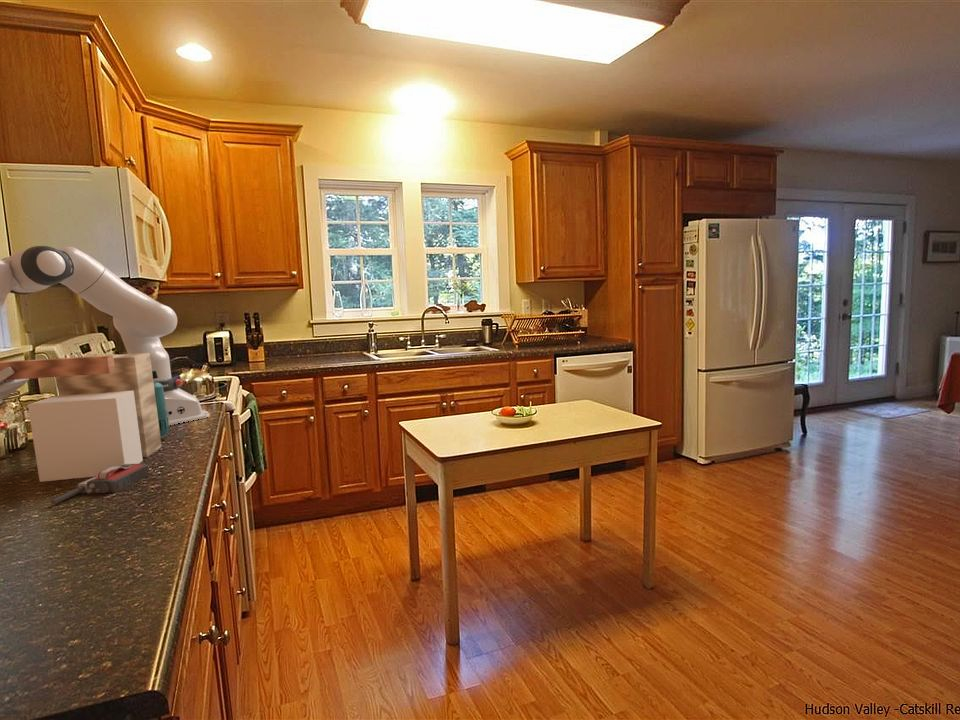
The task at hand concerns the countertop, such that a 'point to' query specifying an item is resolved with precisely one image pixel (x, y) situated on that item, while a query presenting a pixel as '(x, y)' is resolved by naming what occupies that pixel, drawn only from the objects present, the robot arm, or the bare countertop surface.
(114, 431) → the plain white box
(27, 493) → the countertop surface
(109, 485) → the walkie-talkie
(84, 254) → the robot arm
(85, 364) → the stick
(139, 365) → the stand
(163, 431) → the beverage bottle
